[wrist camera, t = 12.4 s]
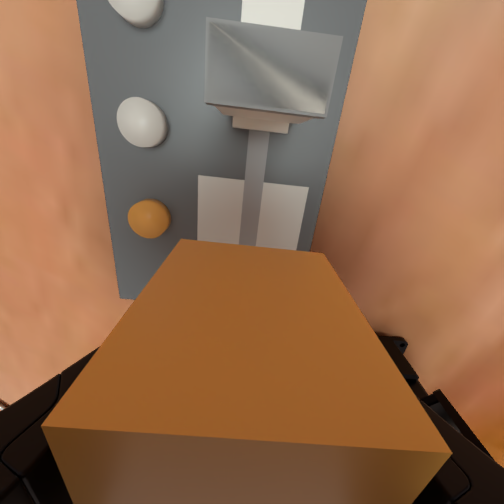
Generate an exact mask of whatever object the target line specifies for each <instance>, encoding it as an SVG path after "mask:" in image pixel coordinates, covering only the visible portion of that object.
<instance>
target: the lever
mask: <svg viewBox="0 0 504 504" xmlns="http://www.w3.org/2000/svg"><path fill="white" fill-rule="evenodd" d="M342 41H343V36H338V35H331V34H324V33H317V32H310V31H303V30H296V29H289V28H282V27H274V26H267V25H260V24H253V23H246V22H239V21H232V20H225V19H218V18H210V17H206V46H205V93H204V103H206V104H207V105H212V106H215V107H216V108H217V109H218V110H219V111H220V112H221V113H222V114H223V115H228V116H233V123H232V127H233V128H241V129H249V130H258V131H266V132H274V133H282V134H287V133H288V128H289V123H293V124H300V123H303V122H305V121H308V120H310V119H313V118H316V119H324V118H327V113H328V108H329V103H330V99H331V94H332V89H333V84H334V79H335V75H336V70H337V65H338V60H339V55H340V50H341V46H342Z"/></svg>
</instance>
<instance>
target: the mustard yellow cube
mask: <svg viewBox="0 0 504 504" xmlns="http://www.w3.org/2000/svg"><path fill="white" fill-rule="evenodd" d="M41 428H42V430H43V432H44V435H45V437H46V440H47V442H48V444H49V447H50V449H51V451H52V454H53V456H54V459H55V461H56V463H57V466H58V468H59V471H60V473H61V475H62V478H63V480H64V483H65V485H66V487H67V490H68V492H69V495H70V497H71V499H72V502H73V504H412V503H413V502H414V500H415V499H416V498H417V497H418V495H419V494H420V493H421V492H422V490H423V489H424V488H425V487H426V485H427V484H428V483H429V482H430V480H431V479H432V478H433V477H434V476H435V474H436V473H437V472H438V471H439V469H440V468H441V467H442V466H443V464H444V463H445V462H446V461H447V459H448V458H449V457H450V456H451V455H452V452H451V450H450V449H449V447H448V445H447V444H446V442H445V441H444V439H443V438H442V436H441V435H440V433H439V431H438V430H437V428H436V427H435V425H434V424H433V422H432V421H431V419H430V418H429V416H428V414H427V413H426V411H425V410H424V408H423V407H422V405H421V404H420V402H419V400H418V399H417V397H416V396H415V394H414V393H413V391H412V390H411V388H410V387H409V385H408V383H407V382H406V380H405V379H404V377H403V376H402V374H401V373H400V371H399V369H398V368H397V366H396V365H395V363H394V362H393V360H392V359H391V357H390V356H389V354H388V352H387V351H386V349H385V348H384V346H383V345H382V343H381V342H380V340H379V339H378V337H377V335H376V334H375V332H374V331H373V329H372V328H371V326H370V325H369V323H368V321H367V320H366V318H365V317H364V315H363V314H362V312H361V311H360V309H359V308H358V306H357V304H356V303H355V301H354V300H353V298H352V297H351V295H350V294H349V292H348V290H347V289H346V287H345V286H344V284H343V283H342V281H341V280H340V278H339V277H338V275H337V273H336V272H335V270H334V269H333V267H332V266H331V264H330V263H329V261H328V259H327V258H326V256H325V255H324V253H316V252H307V251H297V250H287V249H277V248H267V247H257V246H248V245H238V244H228V243H218V242H208V241H198V240H189V239H180V241H179V242H178V243H177V245H176V246H175V247H174V249H173V250H172V251H171V253H170V254H169V255H168V257H167V258H166V259H165V261H164V262H163V263H162V265H161V266H160V267H159V269H158V270H157V271H156V273H155V274H154V275H153V277H152V278H151V279H150V281H149V282H148V283H147V285H146V286H145V287H144V289H143V290H142V291H141V293H140V294H139V295H138V297H137V298H136V299H135V301H134V302H133V303H132V305H131V306H130V307H129V309H128V310H127V311H126V313H125V314H124V315H123V317H122V318H121V319H120V321H119V322H118V324H117V325H116V326H115V328H114V329H113V330H112V332H111V333H110V334H109V336H108V337H107V338H106V340H105V341H104V342H103V344H102V345H101V346H100V348H99V349H98V350H97V352H96V353H95V354H94V356H93V357H92V358H91V360H90V361H89V362H88V364H87V365H86V366H85V368H84V369H83V370H82V372H81V373H80V374H79V376H78V377H77V378H76V380H75V381H74V382H73V384H72V385H71V386H70V388H69V389H68V390H67V392H66V393H65V394H64V396H63V397H62V398H61V400H60V401H59V402H58V404H57V405H56V406H55V408H54V409H53V410H52V412H51V413H50V414H49V416H48V417H47V418H46V420H45V421H44V422H43V424H42V425H41Z"/></svg>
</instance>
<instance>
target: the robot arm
mask: <svg viewBox="0 0 504 504" xmlns="http://www.w3.org/2000/svg"><path fill="white" fill-rule="evenodd" d="M377 337H378V339H379V340H380V342H381V343H382V345H383V346H384V348H385V349H386V351H387V352H388V354H389V356H390V357H391V359H392V360H393V362H394V363H395V365H396V366H397V368H398V369H399V371H400V373H401V374H402V376H403V377H404V379H405V380H406V382H407V383H408V385H409V387H410V388H411V390H412V391H413V393H414V394H415V396H416V397H417V399H418V400H419V402H420V404H421V405H422V407H423V408H424V410H425V411H426V413H427V414H428V416H429V418H430V419H431V421H432V422H433V424H434V425H435V427H436V428H437V430H438V431H439V433H440V435H441V436H442V438H443V439H444V441H445V442H446V444H447V445H448V447H449V449H450V450H451V452H452V455H451V456H450V457H449V458H448V459H447V461H446V462H445V463H444V464H443V466H442V467H441V468H440V469H439V471H438V472H437V473H436V474H435V476H434V477H433V478H432V479H431V480H430V482H429V483H428V484H427V485H426V487H425V488H424V489H423V490H422V492H421V493H420V494H419V495H418V497H417V498H416V499H415V500H414V502H413V503H412V504H504V468H503V467H502V466H500V465H499V464H498V463H497V462H495V460H494V459H493V458H492V457H491V455H490V454H489V453H488V451H487V450H486V449H485V447H484V446H483V445H482V443H481V442H480V441H479V440H478V438H477V437H476V436H475V434H474V433H473V432H472V431H471V429H470V428H469V427H468V425H467V424H466V423H465V421H464V420H463V419H462V418H461V416H460V415H459V414H458V412H457V411H456V410H455V408H454V407H453V406H452V405H451V403H450V402H449V401H448V399H447V398H446V397H445V396H444V394H443V393H442V392H441V390H440V389H438V390H436V391H434V392H433V394H431V395H428V394H427V392H426V391H425V390H424V388H423V387H422V385H421V384H420V382H419V381H418V379H419V377H418V375H417V374H416V372H415V371H414V369H413V368H412V367H411V365H410V364H409V362H408V361H407V360H406V358H405V357H404V355H403V354H404V352H405V350H406V348H407V346H408V343H407V342H406V340H405V339H404V338H396V337H384V336H377ZM99 348H100V347H98V348H97V349H95V350H94V351H92V352H91V353H89V354H88V355H86V356H85V357H83V358H82V359H80V360H79V361H77V362H76V363H74V364H73V365H71V366H70V367H68V368H67V369H65V370H64V371H62V373H61V374H58V375H56V376H55V377H53V378H52V379H50V380H49V381H47V382H46V383H44V384H43V385H41V386H40V387H38V388H36V389H35V390H33V391H32V392H30V393H29V394H27V395H26V396H24V397H23V398H21V399H19V400H18V401H16V402H15V403H13V404H11V405H10V406H8V407H6V408H5V409H3V410H1V411H0V504H73V502H72V499H71V497H70V495H69V492H68V490H67V487H66V485H65V483H64V480H63V478H62V475H61V473H60V471H59V468H58V466H57V463H56V461H55V459H54V456H53V454H52V451H51V449H50V447H49V444H48V442H47V440H46V437H45V435H44V432H43V430H42V428H41V425H42V424H43V422H44V421H45V420H46V418H47V417H48V416H49V414H50V413H51V412H52V410H53V409H54V408H55V406H56V405H57V404H58V402H59V401H60V400H61V398H62V397H63V396H64V394H65V393H66V392H67V390H68V389H69V388H70V386H71V385H72V384H73V382H74V381H75V380H76V378H77V377H78V376H79V374H80V373H81V372H82V370H83V369H84V368H85V366H86V365H87V364H88V362H89V361H90V360H91V358H92V357H93V356H94V354H95V353H96V352H97V350H98V349H99Z"/></svg>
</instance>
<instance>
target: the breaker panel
mask: <svg viewBox="0 0 504 504" xmlns="http://www.w3.org/2000/svg"><path fill="white" fill-rule="evenodd" d="M76 1H77V8H78V15H79V21H80V28H81V35H82V42H83V49H84V56H85V62H86V69H87V76H88V83H89V90H90V97H91V103H92V110H93V117H94V124H95V131H96V137H97V144H98V151H99V158H100V165H101V172H102V178H103V185H104V192H105V199H106V206H107V213H108V219H109V226H110V233H111V240H112V247H113V254H114V260H115V267H116V274H117V281H118V288H119V294H120V298H122V299H134V300H135V299H136V298H137V297H138V295H139V294H140V293H141V291H142V290H143V289H144V287H145V286H146V285H147V283H148V282H149V281H150V279H151V278H152V277H153V275H154V274H155V273H156V271H157V270H158V269H159V267H160V266H161V265H162V263H163V262H164V261H165V259H166V258H167V257H168V255H169V254H170V253H171V251H172V250H173V249H174V247H175V246H176V245H177V243H178V242H179V241H180V239H189V240H198V241H208V242H218V243H228V244H238V245H248V246H257V247H267V248H277V249H287V250H297V251H307V252H310V248H311V243H312V239H313V235H314V230H315V226H316V221H317V217H318V213H319V208H320V204H321V200H322V195H323V191H324V186H325V182H326V178H327V173H328V169H329V164H330V160H331V156H332V151H333V147H334V143H335V138H336V134H337V129H338V125H339V121H340V116H341V112H342V107H343V103H344V99H345V94H346V90H347V86H348V81H349V77H350V72H351V68H352V64H353V59H354V55H355V50H356V46H357V42H358V37H359V33H360V29H361V24H362V20H363V15H364V11H365V7H366V2H367V0H76ZM206 17H210V18H218V19H225V20H232V21H239V22H246V23H253V24H260V25H267V26H274V27H282V28H289V29H296V30H303V31H310V32H317V33H324V34H331V35H338V36H343V41H342V46H341V50H340V55H339V60H338V65H337V70H336V75H335V79H334V84H333V89H332V94H331V99H330V103H329V108H328V113H327V118H324V119H316V118H313V119H310V120H308V121H305V122H303V123H300V124H293V123H289V128H288V133H287V134H282V133H274V132H266V131H258V130H249V129H241V128H233V127H232V123H233V116H228V115H223V114H222V113H221V112H220V111H219V110H218V109H217V108H216V107H215V106H212V105H207V104H206V103H204V93H205V46H206Z"/></svg>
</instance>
